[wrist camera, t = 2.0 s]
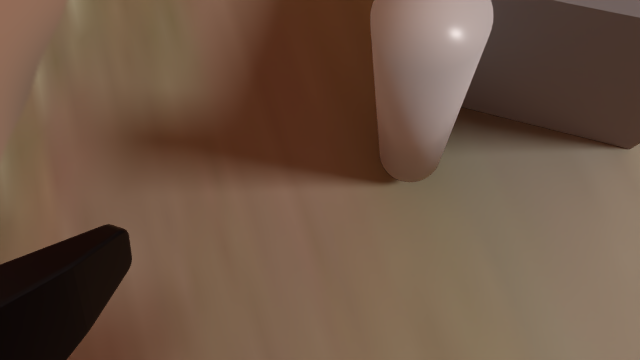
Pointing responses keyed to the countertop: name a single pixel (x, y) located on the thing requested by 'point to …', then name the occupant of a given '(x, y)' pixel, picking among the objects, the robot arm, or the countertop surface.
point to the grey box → (563, 67)
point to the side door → (423, 76)
